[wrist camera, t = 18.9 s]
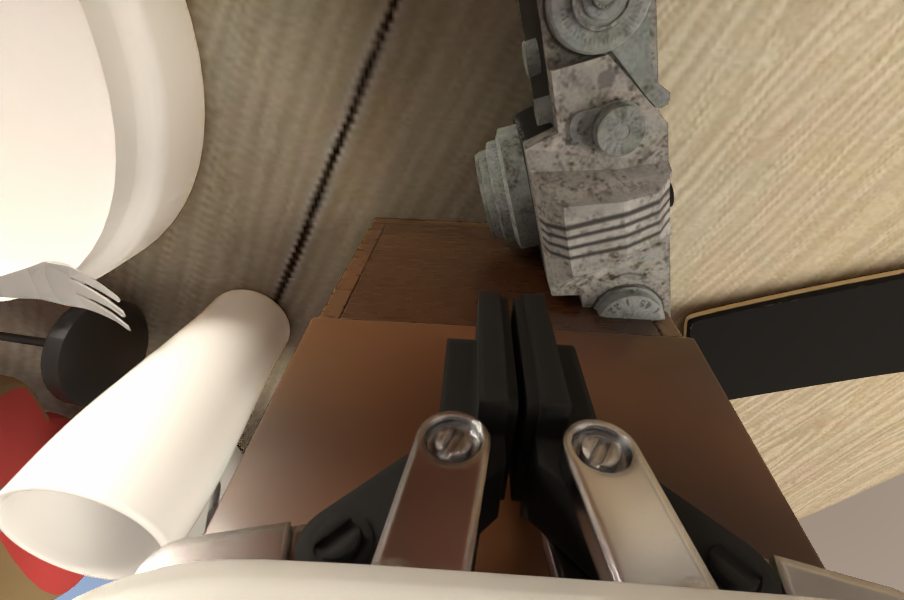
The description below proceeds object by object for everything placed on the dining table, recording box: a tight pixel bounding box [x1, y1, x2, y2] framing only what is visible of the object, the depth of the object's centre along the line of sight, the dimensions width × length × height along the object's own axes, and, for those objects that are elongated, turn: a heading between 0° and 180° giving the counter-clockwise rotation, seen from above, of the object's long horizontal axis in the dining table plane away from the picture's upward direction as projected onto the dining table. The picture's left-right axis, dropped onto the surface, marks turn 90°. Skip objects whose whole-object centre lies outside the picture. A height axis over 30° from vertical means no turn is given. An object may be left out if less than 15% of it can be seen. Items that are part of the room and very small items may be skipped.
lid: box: [203, 317, 825, 577], centre depth 11 cm, size 12×14×1 cm
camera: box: [475, 0, 674, 321], centre depth 18 cm, size 15×7×10 cm, turn 15°
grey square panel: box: [187, 446, 243, 537], centre depth 32 cm, size 12×11×4 cm
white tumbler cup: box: [0, 290, 290, 580], centre depth 23 cm, size 7×7×15 cm
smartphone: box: [683, 269, 904, 400], centre depth 27 cm, size 7×1×15 cm
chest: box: [319, 218, 683, 338], centre depth 24 cm, size 12×14×10 cm
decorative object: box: [0, 375, 84, 600], centre depth 28 cm, size 14×4×15 cm
